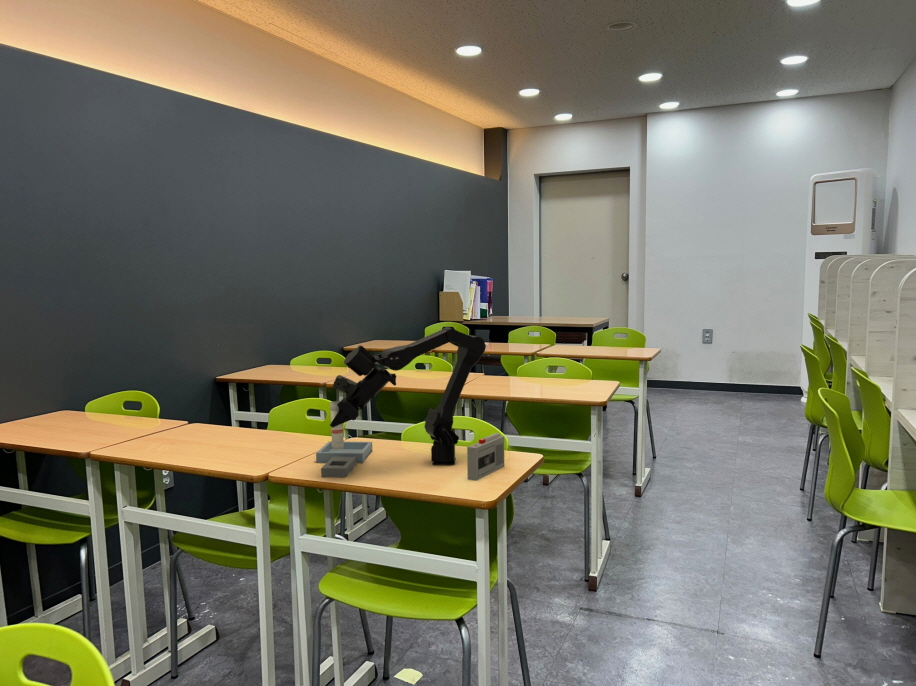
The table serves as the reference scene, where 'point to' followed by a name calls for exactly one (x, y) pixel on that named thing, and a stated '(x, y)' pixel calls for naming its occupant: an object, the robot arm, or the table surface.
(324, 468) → the block
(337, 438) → the cup
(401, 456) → the table surface
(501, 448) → the cassette player
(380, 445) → the table surface
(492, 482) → the table surface
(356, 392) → the robot arm
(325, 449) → the tray
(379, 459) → the table surface
